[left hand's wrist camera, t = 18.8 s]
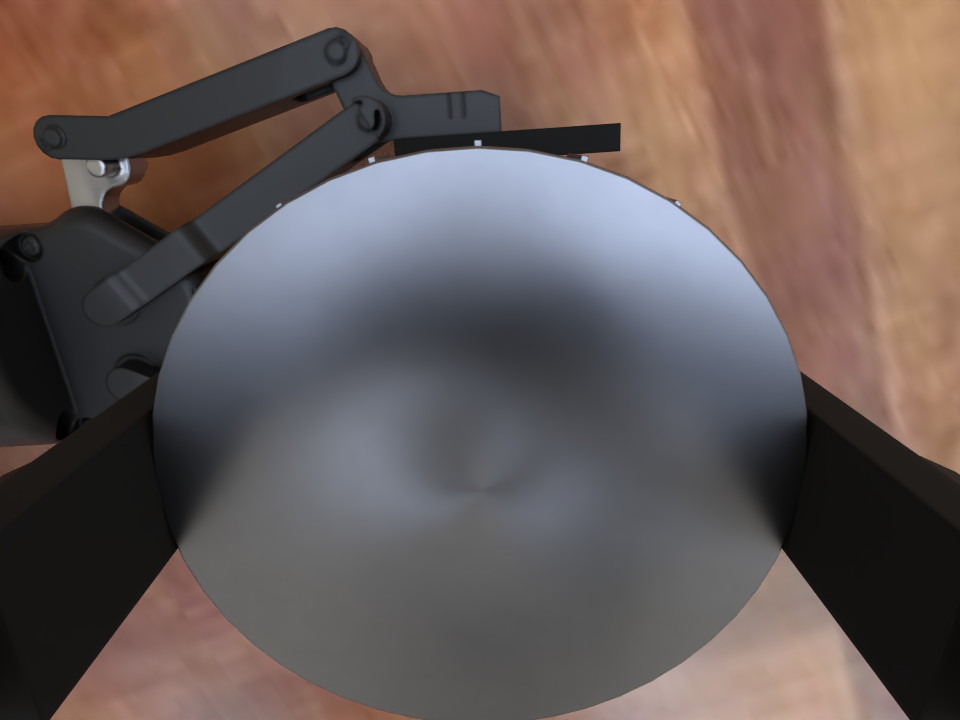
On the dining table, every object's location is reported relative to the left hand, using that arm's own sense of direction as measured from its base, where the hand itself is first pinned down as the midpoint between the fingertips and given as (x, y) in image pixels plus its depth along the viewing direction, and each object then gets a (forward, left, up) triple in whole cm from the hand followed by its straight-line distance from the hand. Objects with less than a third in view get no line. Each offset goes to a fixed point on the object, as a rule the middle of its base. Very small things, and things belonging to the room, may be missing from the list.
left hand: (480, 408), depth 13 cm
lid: (0, 0, +3) cm, 3 cm away
